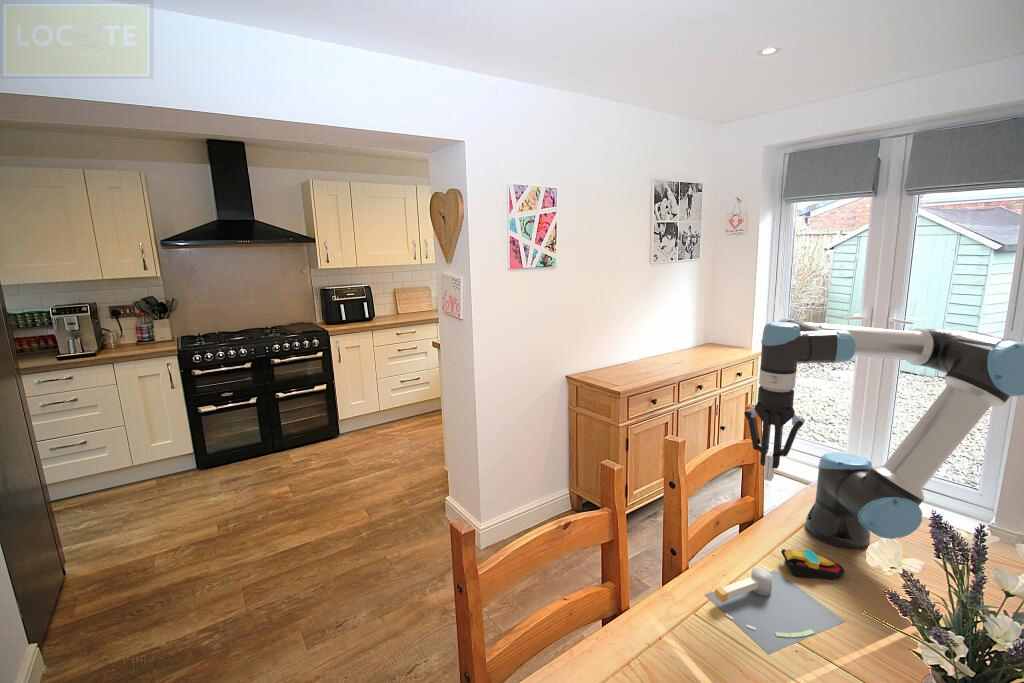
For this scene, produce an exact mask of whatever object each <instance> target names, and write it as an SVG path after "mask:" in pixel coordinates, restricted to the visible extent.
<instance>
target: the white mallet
mask: <svg viewBox="0 0 1024 683" xmlns="http://www.w3.org/2000/svg"><path fill="white" fill-rule="evenodd" d="M750 575H751V576H750V577H748V578H745V579H742V580H739V581H736V582H733V583H730V584H728V585H725V586H718V587H715V589H714V591H715V597H717V598H718V599H719V600H720V601H721V602H725V601H727V599H730V598H733V597H735V596H738V595H741V594H744V593H746V592H749V591H753V592H754V593H756V594H758V595H761V596H769V595H770V594H771V590H772V579H773V577H772V574H771V573H770V571H768V570H767V569H764V568H759V567H757V568H753V569H752V570H751V574H750Z"/></svg>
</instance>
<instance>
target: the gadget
mask: <svg viewBox="0 0 1024 683" xmlns="http://www.w3.org/2000/svg"><path fill="white" fill-rule="evenodd" d="M780 551H781V552H780V553H781V554H782V557H783V558H784V562H785V563H786V565H787V567H788V570H789V571H790V574H791V575H792V576H794V577H798V578H803V579H818V580H828V581H829V580H830V581H833V580H834V579H840V578H841V577H842V576H843V575H844V574H845V569H844V568H843V566H842V565H841V564H839V563H837V562H836V561H834V560H833V559H831V558H828V557H824V556H822V555H818V554H817V553H815V552H814V551H813V550H811V549H808V548H805V547H803V548H802V549H801V551H799V550H795V549H787V550H786V549H785V548H782V549H781V550H780Z"/></svg>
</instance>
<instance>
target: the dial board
mask: <svg viewBox="0 0 1024 683" xmlns="http://www.w3.org/2000/svg"><path fill="white" fill-rule="evenodd" d="M769 572H770V573H771V574H772V577H773V579H772V590H771V594H770V595H769V596H761V595H758V594H756V593H754V592H753V591H749V592H746V593H744V594H741V595H738V596H735V597H733V598H730V599H727V601H725V602H721V601H720V600H719V599H718V598H717V597H715V590H713V591H711V592H707V593H706V594H704V596H705V597H706V598H707V599H708V600H709V601H710V602H712V604H714V605H715V606H716V607H717V608H718V609H719V610H721V612H722V613H723V614H724V616H726V617H727V618H728V619H730V620H731V621H732V622H733V623H734V624H735V625H736V626H737V627H738V628H739V629H741V631H743V632H744V633H745V634H746V635H747V636H748V637H749V638H750V639H751V640H752V641H754V642H755V644H756V645H758V647H760V648H761V649H762V650H763V651H764V652H765V653H766V655H770V654H772V653H775V652H777V651H779V650H782V649H785V648H788V647H789V646H791V645H794V644H796V643H798V642H800V641H801V642H802V641H804V640H805V639H807V638H810V637H812V636H815V635H817V634H820V633H821V632H823V631H826V630H828V629H832V628H833V627H836V626H839V625H840V624H842V623H843V624H844V623H845V622H846V620H844V619H843V618H841V617H840V616H839V615H837V614H836V613H835V612H834V611H832V610H830V609H829V608H828V607H826V605H823V603H821V602H819V601H818V600H817V599H815V598H814V597H813V596H811V595H810V594H808V593H807V592H806V591H804V590H803V589H802V588H800V587H799V586H798V585H797V584H795V583H793V581H791V580H789V579H788V578H787V577H785V576H784V575H783V574H781V573H780V572H778V571H777V570H776V569H774V570H771V571H769Z"/></svg>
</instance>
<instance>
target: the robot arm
mask: <svg viewBox="0 0 1024 683" xmlns="http://www.w3.org/2000/svg"><path fill="white" fill-rule="evenodd" d="M760 342H761V354H760V355H761V356H760V367H759V368H760V369H759V377H758V384H759V386H758V390H757V402H756V404H755V405H754V407H753V408H747V409H746V411H744V416H745V418H746V420H747V421H748V427H749V433H750V437H751V444H752V448H753V450H755V451H756V450H757V451H758V452H759V453H760V461H759V463H760V465H761V466H764V472H763V480H764V481H768V482H772V480H773V479H774V473H775V469H777V470H778V468H779V467H780V460H781V457H787V456H788V455H789V454H790V451H791V448H792V446H793V443H794V441H795V439H796V436H797V433H798V432H799V430H800V428H801V427H802V426H804V424H805V422H806V420H805V419H804V418H802V417H801V418H800V417H799V416H797V415H796V411H795V410H794V399H795V397H794V396H795V390H794V389H795V387H796V381H797V380H796V379H797V378H796V377H797V368H798V364H838V363H846V362H848V361H851V359H852V358H853V357H855V356H856V357H865V358H880V359H887V360H888V359H889V360H900V361H906V362H907V363H908V364H909V365H912V366H920V367H927V368H930V369H933V370H937V371H939V372H942V373H945V375H944V380H945V383H946V387H945V388H944V389H943V390H942V392H941V393H940V394H939V395H938V397H937V398H936V399H935V400H934V401H933V403H932V404H931V405H930V406H929V408H928V409H927V410H926V411H925V413H924V414H923V416H922V417H921V418H920V419H919V421H918V422H917V423H916V424H915V426H914V427H913V428H912V429H911V430H910V431H909V433H908V434H907V435H906V437H905V438H904V439H903V440H902V442H901V443H900V444H899V445H898V446H897V448H896V449H895V450H894V452H893V453H892V454H891V455H890V456H889V458H888V459H887V460H886V462H885V463H884V464H883V465H880V466H879V465H878V466H872V462H871V461H870V460H869V459H868V458H866V457H863V456H861V455H856V454H852V453H847V452H828V453H825V454H823V455H822V456H821V457H820V460H819V462H818V466H817V468H818V473H817V481H816V482H817V483H816V493H815V501H814V502H813V504H812V506H811V508H810V510H809V512H808V513H807V515H806V519H805V527H806V529H807V531H808V532H809V533H810V534H811V535H812V536H813V537H815V538H816V539H818V540H820V541H822V542H824V543H826V544H828V545H830V546H831V545H832V546H835V547H838V548H843V549H852V550H853V549H855V550H857V549H863V548H865V547H866V546H868V545H870V540H871V533H872V534H874V535H876V536H877V537H880V538H883V539H887V538H889V539H888V540H892V539H893V540H895V539H902V538H904V537H907V536H908V537H909V535H911V534H913V533H914V532H916V530H918V529H919V527H920V526H921V524H922V522H923V517H922V516H923V512H922V509H921V507H920V505H921V504H922V503H923V501H924V500H925V495H924V492H923V488H924V487H925V486H926V485H927V484H928V482H930V481H931V479H932V478H933V476H934V475H935V474H936V473H937V471H938V470H939V469H940V468H941V467H942V466H943V465H944V463H945V462H946V461H947V459H948V458H950V456H951V455H952V453H953V452H954V451H955V450H956V449H957V447H959V445H960V444H961V443H962V442H963V440H964V439H965V438H966V436H968V434H969V433H970V432H971V431H972V429H974V427H975V426H976V425H977V423H978V422H979V421H980V420H981V419H982V418H983V416H984V415H985V414H986V413H987V411H989V410H990V408H991V407H996V406H1003V405H1005V404H1006V402H1007V401H1008V400H1009V399H1010V397H1016V396H1017V397H1020V396H1022V397H1023V396H1024V342H1021V341H1018V340H1016V339H1014V338H1006V337H1005V338H1004V337H999V336H996V335H991V334H988V333H987V334H986V333H981V332H978V331H973V330H965V329H946V328H945V329H944V328H942V329H941V328H923V327H922V328H921V327H918V328H917V327H916V328H912V329H911V330H898V329H889V328H878V327H868V326H867V327H865V326H854V325H844V324H843V325H842V324H832V323H822V322H821V323H819V322H808V321H800V320H797V319H795V318H783V319H780V320H778V321H771V322H768V323H766V324H765V326H764V327H763V331H762V339H761V341H760ZM757 415H758V417H759V419H760V420H761V422H762V435H761V439H760V432H759V428H758V422H757ZM790 420H792V421H791V426H792V427H791V429H790V432H789V434H788V437H787V438H786V442H785V444H784V445H783V446H784V447H783V448H782V441H783V432H784V431H783V428H784V426H785V425H786V424H787V423H788V422H789V421H790ZM771 426H774V435H773V437H774V438H773V439H774V440H773V451H770V437H771Z"/></svg>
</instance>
